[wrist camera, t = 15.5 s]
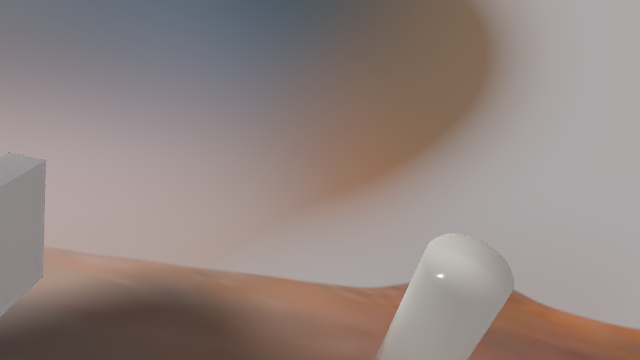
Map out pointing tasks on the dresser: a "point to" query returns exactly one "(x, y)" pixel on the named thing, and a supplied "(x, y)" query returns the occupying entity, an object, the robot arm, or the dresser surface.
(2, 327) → the dresser surface
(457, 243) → the grey tall block
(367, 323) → the dresser surface
